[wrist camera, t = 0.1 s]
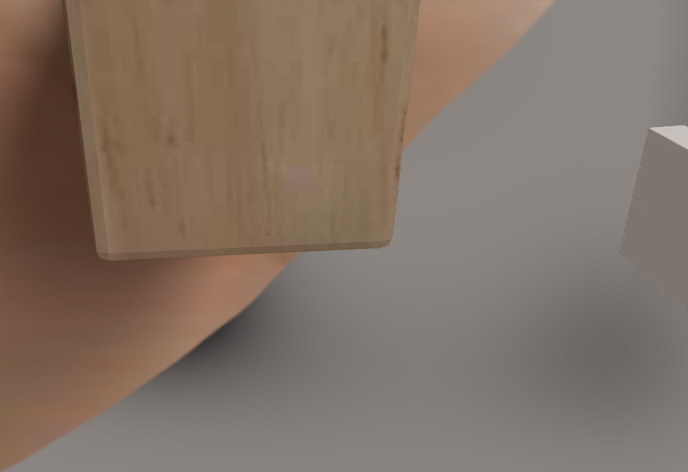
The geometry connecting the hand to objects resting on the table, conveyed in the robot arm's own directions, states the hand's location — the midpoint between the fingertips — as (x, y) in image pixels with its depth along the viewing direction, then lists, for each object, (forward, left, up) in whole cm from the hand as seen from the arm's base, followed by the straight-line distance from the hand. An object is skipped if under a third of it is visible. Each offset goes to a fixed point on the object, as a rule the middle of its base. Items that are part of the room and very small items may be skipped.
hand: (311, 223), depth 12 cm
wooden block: (+1, 0, -29) cm, 29 cm away
